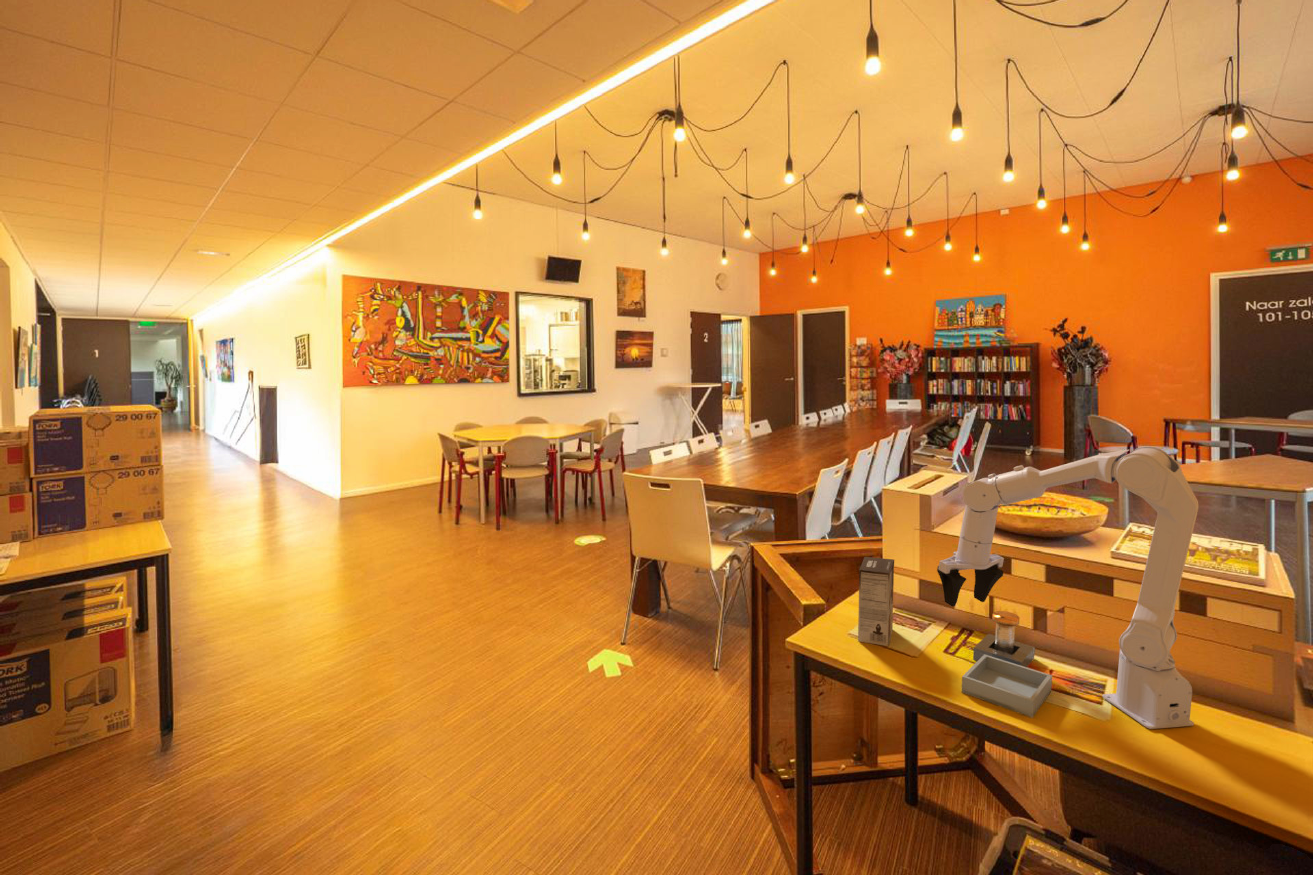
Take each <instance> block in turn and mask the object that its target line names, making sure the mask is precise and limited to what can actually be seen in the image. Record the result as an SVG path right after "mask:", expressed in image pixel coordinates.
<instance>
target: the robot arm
mask: <svg viewBox="0 0 1313 875" xmlns="http://www.w3.org/2000/svg"><path fill="white" fill-rule="evenodd" d="M1129 451H1130V449H1122V450H1117V451H1112V452H1105V453H1099V454H1096V455H1092V456H1089V457H1085V458H1082V459H1079V460H1075V461H1071V462H1067V463H1066V464H1061V465H1058V466H1054V467H1051V468H1048V469H1043V470H1039V469H1038V468H1035V467H1033V466H1026V467H1024V465H1023V464H1021V465H1017V466H1015V467H1013V470H1012V471H1008V472H1004V473H1000V474H996V473H991V474H988V475H987V477H983V478H981V479H977V480H974V481H972V482H971V483H969V484H968V485H966V486H965V487H964V489H963V492H962V499H963V502H964V503H965V506H964V508H965V509H964V513H963V517H962V520H961V522H962V523H961V529H960V533H959V539H958V546H957V549H956V550H957V551H953V553H952V556H949V557H948V558H945V559H942V560H939V562H938V563H939V564H938V566H937V568H936V572H937V574H938V576H939V578H940V581H941V584H942V590H943V597H944V598H943V600H944V602H945V603H946V604H947V605H949V606H950V607H956V604H957V602H958V598H959V596H960V595H959V594H960V591H961V589H962V587H963V585H964V584H965V583H966V581H967V578H966V577H965V576H964V575H963V576H962V575H961V572H960V571H965V570H974V588H973V598H974V599H976V600H977V601H979V602H980V603H985V602H986V600H987V598H988V596H989V594H990V593H991V591H992V589H993V587H994V586H995V584H996V583H997V582H998V581H999V580H1000V579H1001V578H1002V577H1004V570H1002V569H1000V568H1003V566H1004V565H1003V564H1004V560H1005V558H1004V557H1002V556H1001V555H999V554H995V553H994V554H991V551H992V547H993V540H994V534H995V530H996V524H997V516H998V511H999V506H1000V505H1004V506H1005V505H1006V506H1007V505H1011V504H1015V503H1019V502H1023V501H1028V500H1032V499H1037V498H1041V497H1042V496H1043V495H1044V494H1045V492H1046V490H1047V489H1048V488H1053V487H1057V486H1061V485H1067V484H1071V483H1077V482H1082V481H1087V480H1090V479H1097V480H1099V481H1102V482H1105V483H1108V484H1113V483H1114V482H1117V483H1118V485H1120V487H1122V488H1124V489H1125V490H1127V491H1129V492H1130V493H1133V494H1134V495H1136V496H1138V497H1140V498H1142V499H1143V500H1144V501H1145V502H1146V503H1147V504H1149V506H1150V507H1151V508H1152V509H1153V510H1154V511H1155V512H1156V514H1157V515H1156V520H1155V523H1154V528H1153V533H1152V537H1151V541H1150V545H1149V550H1148V554H1147V555H1148V556H1147V559H1146V564H1145V568H1144V572H1143V577H1142V580H1141V581H1142V582H1141V586H1140V591H1139V594H1138V598H1137V603H1136V606H1135V609H1134V611H1133V615H1132V617H1131V620H1130V623H1129V625H1128V627H1127V628H1126V629H1125V630H1124V631H1123V633H1121V635H1120V637H1119V639H1118V645H1119V654H1118V666H1117V667H1118V670H1117V681H1116V691H1115V692H1113V693H1103V694H1102V699H1105V701H1107V702H1108V703H1110V704H1111V705H1113V706H1115V707H1116V708H1118V709H1119V710H1121V711H1122V712H1123V713H1125V714H1126V715H1128V716H1129V717H1131V718H1132V719H1134V720H1135V721H1137V722H1138V723H1139V724H1141V725H1142V726H1144V727H1145V728H1147V729H1149V730H1153V729H1166V728H1168V729H1169V728H1178V727H1191V726H1194V724H1195V723H1194V721H1193V720H1192V719H1191V708H1192V699H1193V688H1192V685H1191V683H1190V682H1189V680H1188V679H1186V678H1185V677H1184V676H1183V675H1181V673H1180V672H1179V671H1178V670H1177V668H1176V661H1175V659H1174V657H1173V656H1172V654H1171V652H1170V651H1171V649H1172V647H1173V645H1174V644H1175V643H1176V641H1177V639H1178V634H1177V628H1176V627H1175V623H1174V618H1175V614H1176V611H1175V607H1176V604H1177V598H1178V595H1179V591H1180V587H1181V582H1182V578H1183V574H1184V570H1185V565H1186V561H1187V556H1188V553H1189V548H1190V544H1191V541H1192V536H1193V532H1194V529H1195V524H1196V520H1197V515H1198V511H1199V501H1198V499H1197V497H1196V495H1195V494H1194V491H1193V490H1192V487H1191V485H1190V484H1189V482H1188V480H1187V478H1186V476H1185V475H1184V472H1183V470H1182V467H1181V464H1180V463H1179V462H1178V461H1177V460H1176V459H1174V458H1173V457H1172V456H1171V455H1169V454H1168V453H1167V452H1166V451H1165V450H1163V449H1161V448H1158V447H1156V446H1149V445H1148V446H1141V447H1137V448H1134V449H1133V450H1132V451H1131V452H1129ZM1128 452H1129V453H1128ZM1127 453H1128V454H1127Z"/></svg>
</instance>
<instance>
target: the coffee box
mask: <svg viewBox="0 0 1313 875" xmlns="http://www.w3.org/2000/svg"><path fill="white" fill-rule="evenodd" d="M858 570H859V571H858V573H859V574H858V580H859V581H858V619H857V620H858V622H857V623H858V624H857V625H858V626H857V629H858V630H857V638H858V639H857V640H858V642H859V643H867V644H872V645H873V644H874V645H880V646H884V647H889V646H888V645H890V643H891V642H890V641H891V637H892V633H893V623H894V621H893V619H894V615H893V614H894V611H893V610H894V585H895V583H894V580H895V575H894V573H895V572H894V571H895V559H890V558H881V557H871V556H870V557H869V556H864V557H863V560H862V562H861V565H860V567H859V569H858Z"/></svg>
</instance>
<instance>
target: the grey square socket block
mask: <svg viewBox="0 0 1313 875" xmlns="http://www.w3.org/2000/svg"><path fill="white" fill-rule="evenodd" d="M995 635H996V634H991V633H987V634H986V635H985V637H984V638H982V639H981V640H980V641H979V642H978V643H977V644H976V645H975V646H974V647H973V654H972V655H973V658H972V659H973V661H976V662H977V661H978V660H979V659H980V658H981V657H982V656H983V655H984V654H985V655H988V656H992V657H995V658H998V659H1001V660H1004V661H1008V662H1011V663H1014V664H1017V665H1021V666H1024V667H1027V668H1029V666H1028V665H1030V664H1031V663H1032V662H1033V661H1034V659H1035V650H1036V647H1035V646H1033V645H1030V644H1027V643H1024V642H1023V643H1022V642H1019V641H1017V640H1014V651H1013V655H1012V654H1008V653H1005V652H1002V651H998V650H995ZM1032 660H1033V661H1032Z"/></svg>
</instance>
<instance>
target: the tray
mask: <svg viewBox="0 0 1313 875" xmlns="http://www.w3.org/2000/svg"><path fill="white" fill-rule="evenodd" d="M961 678H962V679H961V693H963V694H965V695H968V696H971V697H973V698H976V699H980V700H982V701H984V702H988V703H990V704H993V705H996V706H998V707H1002V708H1005V709H1006V710H1007V709H1008V710H1010V711H1012V712H1015V713H1018V714H1021V715H1024V716H1026V717H1028V718H1031V719H1032V718H1034V716H1035V715H1036V713H1037V712H1039V709H1040V708H1041V706H1042V705H1043V703H1045V701H1046V699H1047V698H1048V697H1049V695H1050V693H1051V692H1052V685H1053V675H1052V674H1050V673H1046V672H1042V671H1040V670H1036V669H1033V668H1030V667H1024V666H1021V665H1017V664H1014V663H1011V662H1008V661H1004V660H1001V659H998V658H995V657H992V656H988V655H985V654H984V655H983V656H982V657H981V658H980V659H979V660H978V661H976V662H975V663H974V664H973V665H972V666H971V667H970V668H969V669H968V670H967V671H966V672H965V673H964V674H963V675H962V677H961Z"/></svg>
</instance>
